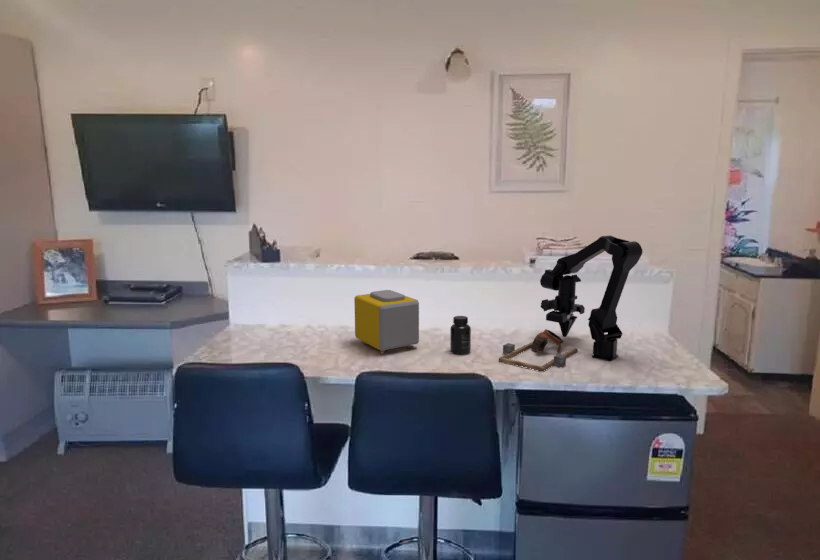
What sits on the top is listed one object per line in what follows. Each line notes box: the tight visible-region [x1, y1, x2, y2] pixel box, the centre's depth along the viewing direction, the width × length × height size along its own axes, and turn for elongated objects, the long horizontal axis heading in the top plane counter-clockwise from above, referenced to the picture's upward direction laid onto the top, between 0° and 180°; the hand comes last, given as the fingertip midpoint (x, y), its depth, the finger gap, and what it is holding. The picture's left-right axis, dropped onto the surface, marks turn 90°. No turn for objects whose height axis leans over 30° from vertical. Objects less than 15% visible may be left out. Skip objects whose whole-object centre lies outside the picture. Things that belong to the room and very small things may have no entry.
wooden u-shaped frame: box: [498, 341, 578, 372], centre depth 196 cm, size 21×25×3 cm
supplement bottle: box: [449, 315, 472, 356], centre depth 200 cm, size 7×7×12 cm
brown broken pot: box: [530, 328, 564, 354], centre depth 201 cm, size 12×10×8 cm
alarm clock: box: [353, 289, 420, 354], centre depth 207 cm, size 20×16×18 cm
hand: (564, 336), depth 210 cm, fingers closed
